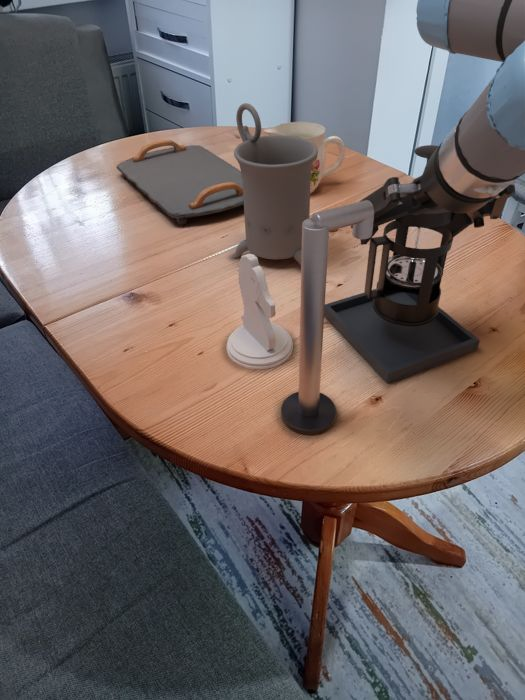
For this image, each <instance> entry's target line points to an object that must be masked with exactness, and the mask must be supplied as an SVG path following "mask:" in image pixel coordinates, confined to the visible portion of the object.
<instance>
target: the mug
mask: <svg viewBox="0 0 525 700" xmlns="http://www.w3.org/2000/svg"><path fill="white" fill-rule="evenodd" d="M245 110H247V112H249V113H250V115H251V116H252V118H253V121H254V127H255V129H254V130H255V131H254V134H253V135H252V134H251V132H250V130H249V127H248V126H247V125H244V124H243V113H244V111H245ZM235 119H236V120H235V121H236V126H237V130H238V133H239V136H240V138H241V140H242V142H241V143H239V144H238V145H236V147H235V148H234V150H233V156H234V159H235V160H236V161H237V163H238V165H239V170H240V171H241V175H242V183H243V199H244V204H243V213H244V214H243V215H244V230H245V231H244V233H245V239H244V240H242V241H240V242H239V243H238V245H237V247H236V250H235V253H233V254H232V255H231V256H232V258H233V259H238V258H241V256H242V255H243V253H245V252H247V251H249V252H250V254H254V255H255V257H259V258H263V259H267V260H285V259H291V258H293V259H294V260H295V261H296V262H297V263H298V264H299V266H300V267H301V257H302V223H303V221H304V220H306V219H309V218H310V213H311V212H310V210H311V193H310V180H311V170H312V165H313V161H314V159H315V158H316V156H317V154H318V148H317V146H316V145H315V144H314V143H313V142H311V141H309V140H307V139H304V138H300V137H296V136H288V135H269V134H268V135H262V136H261V134H262V123H261V118H260V115H259V113H258V111H257V110H256V108H255V107H254V106H253V104H250V103H247V102H246V103H242V104H240V106H239V107H237V111H236V117H235Z"/></svg>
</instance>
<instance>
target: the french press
mask: <svg viewBox="0 0 525 700" xmlns="http://www.w3.org/2000/svg"><path fill="white" fill-rule="evenodd" d="M438 146H439V145H434V144H428V145H420V146H417V147H416V148H415V149H414V152H413V153H414V154H415V155H416V156H418V157H420V158H424V159H426V163H427V162H428V160H429V158H430V157H431V155H432V154H433V153H434V151H435V150H436V149H437V148H438ZM418 203H419V202H418ZM420 205H421V204H420V203H419V206H420ZM454 215H455V213H454V212H450V211H448V210H445V209H443V208H441V209H439V210H430V211H427V212H425V213H422V214H419V215H412V214H408V215H405V216H403V217H400V218H398V219H395V220H392V221H390V222H387V223H386V225H385V226H384V227H383V233H382V235H381V236H375V237H374V236H373V237H372V238H371V239H370V241H369V248H368V256H367V265H366V274H365V275H366V276H365V282H364V292H365V294H366V296H367V297H368V299H369V300H373V308H374V310H375V312H376V313H377V314H378V316H380V317H381V318H382V319H384V320H386V321H388V322H391V323H393V324H397V325H402V326H420V325H424V324H427V323H429V322H431V321H432V320H434V319H435V318H436V317H437V315H438V312H439V308H440V305H439V304H440V300H441V295H442V288H441V284H442V279H443V276H444V269H445V264H446V260H447V255H448V253H449V252H450V251H451V249H452V247H453V242H454V237H453V233H452V231H451V230H450V229H449V228H448V227H447V226H445V225H447V224H449V223H451V221H452V220H453V218H454ZM409 228H417V230H416V234H415V235H416V236H415V242H414V246H413V247H409V246H406V245H407V239H408V234H409ZM422 228H423V229H428V230H431V231H434V232H437V233H439V234H441V235H442V236H441V239H440V240H441V241H440V245H439V247H434V248H418V245H419V238H420V233H421V229H422ZM394 230H396V231H395V236H394V241H393V240H392V239H391V238H389V237H388V235H387V234H389V233H390V232H392V231H394ZM379 246H382V250H381V258H380V266H379V273H378V274H379V275H378V280H377V283H376V288H375V289H376V290H374V289H373V283H374V276H375V267H376V260H377V259H376V258H377V251H378V247H379ZM390 251H391V252H392V255H391V256H390ZM372 290H374V291H372ZM364 292H363V293H364ZM399 292H405V293H412V294H415V295H418V299H417V305H404V304H399V303H396V302H393V301H391V300H389V299H387V298H386V296H387V295H390V294H393V293H399Z"/></svg>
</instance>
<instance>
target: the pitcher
mask: <svg viewBox="0 0 525 700" xmlns="http://www.w3.org/2000/svg"><path fill="white" fill-rule="evenodd" d="M262 131H263V133H265V134H267V135H268V136H269V135H288V136H296V137H300V138H304V139H307V140H309V141H311V142H313V143H314V144H315V145H316V146H317V148H318V154H317V156H316V158H315V159H314V161H313V165H312V170H311V180H310V194H312V193H313V192H315V190H316V189H317V188H318V186H319V185H320V183H321V180H322V179H324V178H327V177H329V176H331V175H333V174H334V173H336V172H337V171H338V170H339V169H340V167H342V165H343V163H344V159H345V153H346V148H345V144H344V141H343V140H342V139H341V138H340V137H339V136H337V135H331V136H328V137H326V138H325V135H326V128H325V126H323V125H322V124H319V123H316V122H311V121H290V122H284V123H280V124H278V125H275V126H270V127H269V126H268V127H265V128H263V130H262ZM324 138H325V139H324ZM332 143H335V144H337V146H338V158H337V160H336V161H335V163H333V165H332V166H330V167H329V168H327V169H325V168H326V159H327V157H326V156H327V155H326V147H327V146H328V145H330V144H332Z"/></svg>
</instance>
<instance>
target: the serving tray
mask: <svg viewBox="0 0 525 700" xmlns="http://www.w3.org/2000/svg"><path fill="white" fill-rule="evenodd" d="M162 147H169V148H163V149H158V148H162ZM154 149H157V150H154ZM152 150H153V151H152ZM115 167H116V169H117V170H118V171H119V172H120V173H121V174H122V175H123V176H124V177H125V178H126V179H127V180H128V181H129V182H130V183H132V184H133V185H135V186H136V188H137V189H138V190H139V191H140V192H142V193H143V194H144V195H145V196H147V198H148V199H149V201H150V202H151V203H154V204H155V205H157V207H159V208H160V209H161V210H162V211H163V212H164V213H165V214H166V215H168V217H170V218H171V219H176V223H177V224H178V225H179V226H181V227H183V226H186V225H187V223H188V218H195V217H200V216H201V217H202V216H207V215H211V214H217V213H222V212H226V211H228V210H231V209H235V208H238V207H241V206H244V199H243V183H242V175H241V169H238V168H237V167H236V166H234V165H233V164H231V163H229V162H228V161H226V160H224V159H223V158H221V157H220V156H218V155H216V154H215V153H213V152H212V151H210V150H208V149H207V148H205V147H204V146H202V145H195V144H191V145H185V144H182V145H179V144H178V143H177V142H175V141H174V140H172V139H162V140H157V141H153V142H150V143H148V144H145V145H144V146H142V148H141V149H140V150H139V152H138V153H137V154H136V155H135V156H132V157H131V158H129V159H126V160H124V161H121V162H120V163H118V164H117V165H116V166H115Z"/></svg>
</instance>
